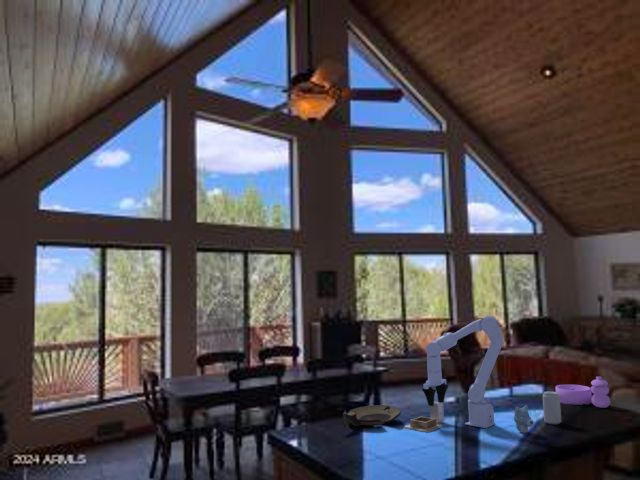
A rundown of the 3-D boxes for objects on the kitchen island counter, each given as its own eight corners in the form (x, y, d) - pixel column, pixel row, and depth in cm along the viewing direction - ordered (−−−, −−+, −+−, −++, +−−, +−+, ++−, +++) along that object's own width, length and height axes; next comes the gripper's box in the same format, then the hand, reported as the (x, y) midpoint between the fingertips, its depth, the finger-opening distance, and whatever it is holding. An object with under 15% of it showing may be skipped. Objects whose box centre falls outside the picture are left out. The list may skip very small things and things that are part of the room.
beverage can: (543, 424, 213) (541, 393, 214) (545, 420, 219) (543, 390, 220) (560, 425, 210) (558, 394, 212) (562, 421, 216) (559, 391, 217)
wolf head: (526, 437, 196) (524, 409, 197) (511, 431, 205) (509, 404, 206) (540, 435, 198) (538, 407, 199) (525, 429, 206) (523, 403, 207)
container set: (549, 400, 255) (547, 372, 256) (570, 396, 262) (568, 369, 263) (598, 410, 233) (596, 379, 234) (619, 405, 240) (617, 376, 241)
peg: (443, 422, 222) (442, 402, 222) (438, 424, 219) (437, 404, 219) (435, 420, 224) (434, 401, 225) (430, 422, 221) (429, 402, 222)
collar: (442, 426, 214) (442, 418, 215) (427, 432, 207) (427, 424, 207) (419, 422, 222) (419, 414, 222) (404, 427, 214) (403, 420, 215)
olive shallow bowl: (413, 425, 218) (412, 406, 219) (348, 435, 206) (347, 415, 207) (385, 414, 239) (384, 396, 239) (324, 423, 227) (324, 404, 227)
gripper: (435, 367, 231) (437, 399, 230) (416, 372, 221) (418, 405, 220) (450, 369, 226) (451, 401, 225) (431, 374, 216) (432, 408, 215)
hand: (436, 404), depth 222 cm, fingers open, 7 cm apart
